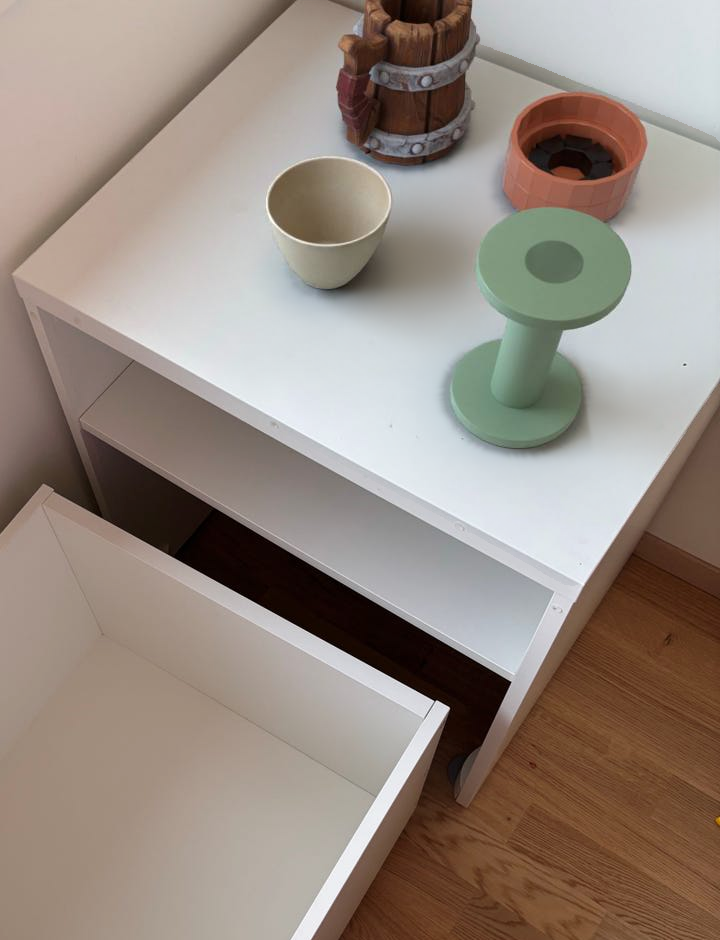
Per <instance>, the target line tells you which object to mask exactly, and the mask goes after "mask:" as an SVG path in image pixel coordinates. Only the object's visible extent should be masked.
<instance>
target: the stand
mask: <svg viewBox="0 0 720 940" xmlns="http://www.w3.org/2000/svg"><path fill="white" fill-rule="evenodd" d="M474 272H475V279H476V282H477V286H478V288H479V291H480V293H481V294H482V295H483V297H484V299H485V300H486V301H487V303H488V304H489V305H490V306H491V307H492V308H493V309H494V310H496V311H497V312H498V313H499V314H500V315H502V316H503V317H505V318H506V319H507V320H506V324H505V327H504V330H503V335H502V338H498V339H494V340H490V341H486V342H484V343H482V344H480V345H478V346H476V347H474V348H473V349H471V350H469V352H468V353H466V354H465V355H463V357H462V358H461V359H460V361H459V362H458V363H457V365H456V367H455V368H454V371H453V373H452V378H451V382H450V387H449V400H450V405H451V408H452V411H453V412H454V414H455V417H456V418H457V419H458V421H459V422H460V423H461V425H462V426H463V427H464V428H465V429H466V430H467V431H468V432H470V433H471V434H472V435H474V436H475V437H477V438H478V439H480V440H481V441H484V442H487V443H488V444H491V445H495V446H499V447H502V448H503V447H504V448H510V449H528V448H533V447H538V446H542V445H544V444H548V443H549V442H552V441H553V440H555V439H557V438H558V437H559V436H561V435H562V434H564V433H565V432H566V431H567V430H568V428H570V426H571V425H572V423H573V422H574V420H575V418H576V417H577V413H578V411H579V408H580V406H581V403H582V398H583V397H582V384H581V381H580V377H579V375H578V373H577V371H576V369H575V368H574V366H573V365H572V363H571V362H570V361H569V360H568V359H567V358H566V357H565V356H564V355H563V354H562V353H560V352H558V351H557V350H558V348H559V344H560V342H561V340H562V336H563V333H564V331H571V330H577V329H581V328H584V327H585V328H586V327H587V326H590V325H593V324H595V323H596V322H599V321H601V320H602V319H604V318H605V317H607V316H608V315H610V314H611V313H612V312H613V311H614V310H615V309H616V308H617V307H618V305H620V303H621V301H622V300H623V298H624V297H625V294H626V291H627V289H628V287H629V284H630V281H631V277H632V259H631V255H630V253H629V250H628V247H627V246H626V244H625V242H624V240H623V239H622V238H621V237H620V235H619V234H618V233H617V232H616V231H615V230H614V229H612V227H610V226H609V225H608V224H607V223H605V222H602V221H600V220H598V219H596V218H594V217H592V216H590V215H588V214H585V213H582V212H579V211H575V210H572V209H566V208H557V207H541V208H533V209H528V210H524V211H521V212H519V211H517V212H514V213H512V214H511V215H508V216H506V217H505V218H503V219H501V220H499V221H498V222H497V223H496V224H495V225H493V226H492V227H491V228H490V230H489V231H488V232H487V233H486V234H485V236H484V237H483V239H482V240H481V243H480V245H479V247H478V251H477V256H476V261H475V269H474Z"/></svg>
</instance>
